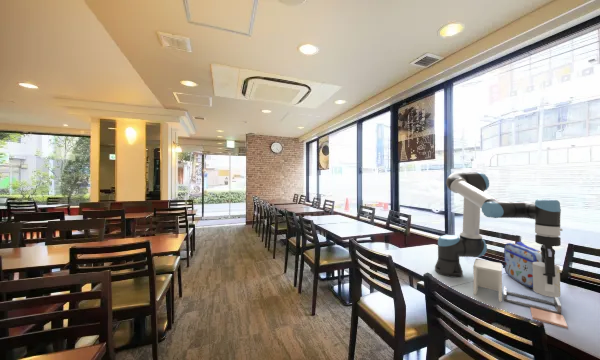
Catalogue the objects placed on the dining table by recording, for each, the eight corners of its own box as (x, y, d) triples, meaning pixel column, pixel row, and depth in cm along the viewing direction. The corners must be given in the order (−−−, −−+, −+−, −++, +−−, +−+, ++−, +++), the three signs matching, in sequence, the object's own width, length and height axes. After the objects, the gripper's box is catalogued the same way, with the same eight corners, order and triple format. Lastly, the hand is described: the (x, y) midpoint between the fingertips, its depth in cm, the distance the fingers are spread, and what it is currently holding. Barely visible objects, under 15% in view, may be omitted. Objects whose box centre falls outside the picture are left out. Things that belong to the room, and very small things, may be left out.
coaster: (532, 318, 100) (532, 316, 100) (530, 308, 108) (530, 307, 108) (567, 328, 94) (567, 326, 94) (562, 317, 101) (562, 315, 101)
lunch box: (499, 272, 151) (499, 238, 151) (517, 273, 149) (517, 238, 149) (532, 292, 124) (531, 250, 124) (555, 293, 122) (555, 251, 122)
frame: (503, 300, 115) (503, 292, 115) (503, 292, 123) (503, 284, 123) (561, 315, 103) (561, 305, 103) (556, 304, 111) (556, 296, 111)
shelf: (473, 294, 122) (473, 265, 122) (475, 284, 133) (475, 258, 133) (501, 301, 114) (501, 271, 114) (501, 291, 125) (501, 263, 125)
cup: (563, 299, 95) (562, 269, 96) (536, 294, 100) (535, 266, 100) (556, 291, 102) (555, 263, 102) (530, 287, 107) (530, 260, 107)
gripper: (565, 241, 90) (566, 299, 90) (556, 232, 106) (556, 282, 106) (538, 238, 95) (538, 293, 95) (532, 230, 111) (533, 277, 111)
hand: (547, 287), depth 101 cm, fingers closed on cup, 8 cm apart
